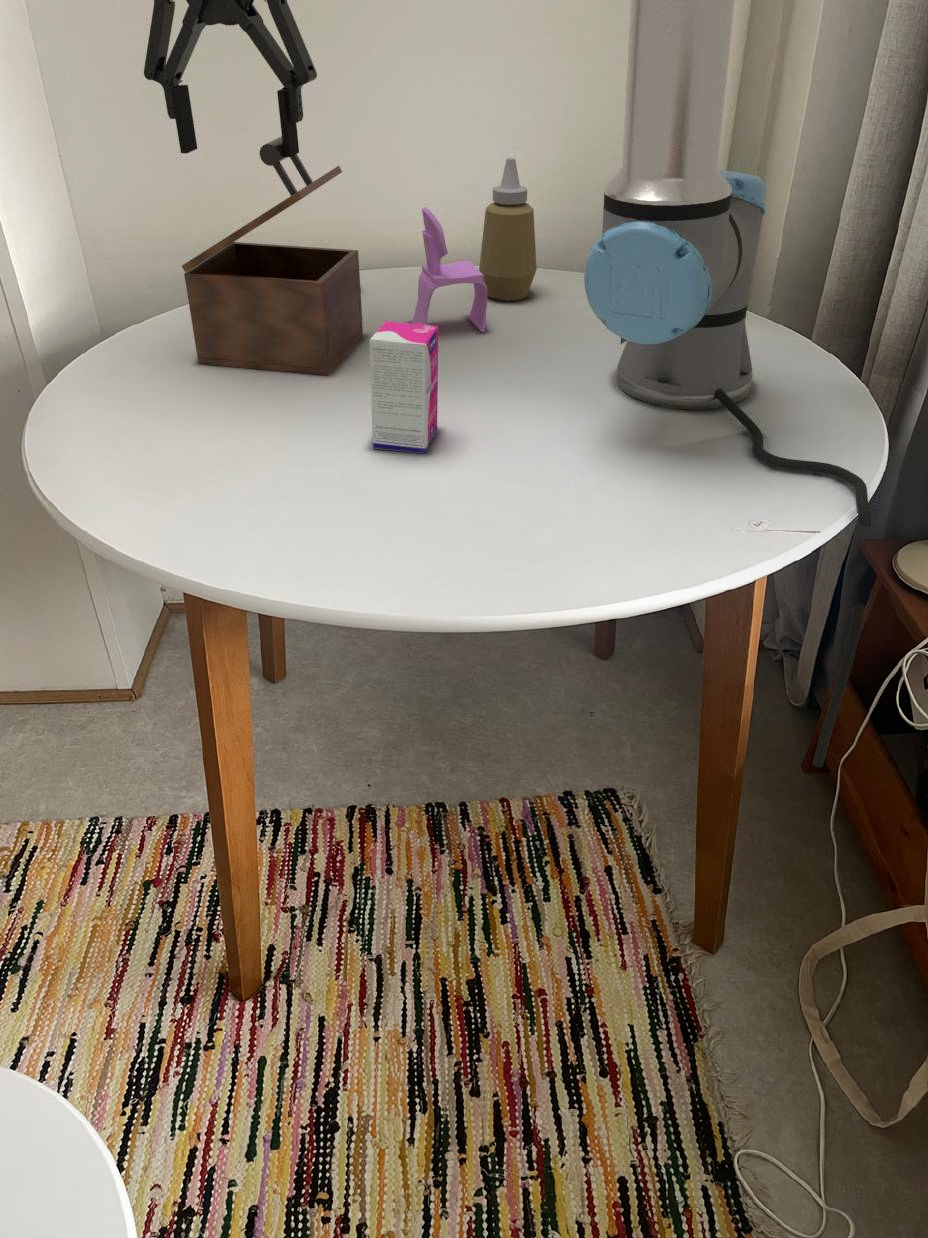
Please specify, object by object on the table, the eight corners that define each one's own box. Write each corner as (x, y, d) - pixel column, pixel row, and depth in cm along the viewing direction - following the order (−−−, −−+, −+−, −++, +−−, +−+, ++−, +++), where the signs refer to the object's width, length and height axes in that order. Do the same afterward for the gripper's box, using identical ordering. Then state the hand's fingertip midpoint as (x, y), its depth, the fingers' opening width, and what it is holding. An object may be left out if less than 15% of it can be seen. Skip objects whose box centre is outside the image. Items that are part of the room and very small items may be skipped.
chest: (363, 336, 129) (358, 249, 122) (328, 375, 118) (320, 283, 111) (243, 326, 132) (232, 241, 125) (198, 363, 121) (183, 273, 114)
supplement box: (427, 454, 101) (425, 343, 94) (371, 449, 102) (365, 339, 95) (440, 430, 105) (439, 323, 99) (386, 425, 106) (381, 319, 100)
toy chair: (490, 334, 129) (492, 212, 120) (424, 341, 127) (422, 217, 118) (472, 313, 135) (473, 197, 127) (409, 320, 133) (405, 201, 125)
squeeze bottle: (469, 290, 144) (470, 155, 133) (519, 283, 146) (523, 150, 136) (494, 307, 138) (497, 167, 127) (545, 299, 140) (552, 161, 130)
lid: (342, 171, 117) (312, 117, 115) (302, 198, 107) (267, 139, 104) (233, 240, 125) (202, 191, 122) (185, 272, 114) (150, 219, 112)
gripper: (335, -86, 100) (352, 149, 113) (118, -84, 105) (157, 142, 117) (309, -85, 94) (330, 163, 107) (80, -83, 99) (126, 155, 111)
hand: (240, 152), depth 112 cm, fingers open, 12 cm apart
